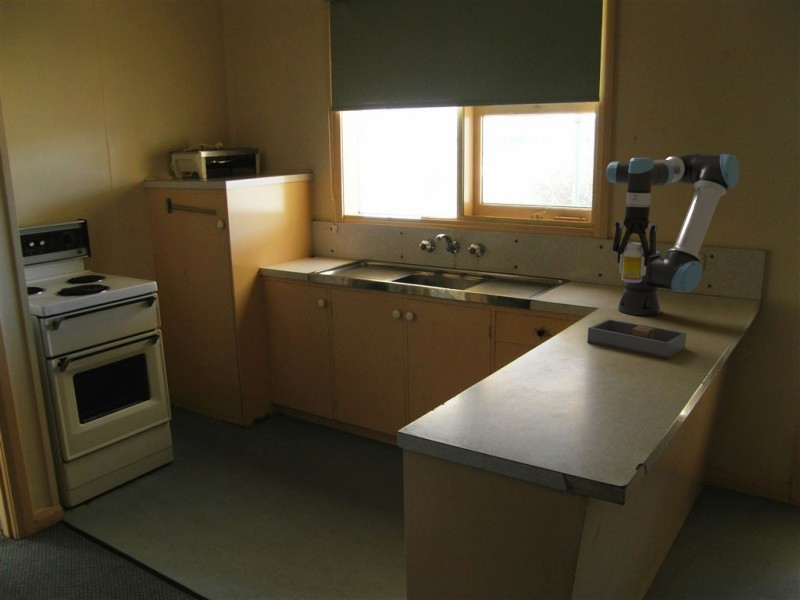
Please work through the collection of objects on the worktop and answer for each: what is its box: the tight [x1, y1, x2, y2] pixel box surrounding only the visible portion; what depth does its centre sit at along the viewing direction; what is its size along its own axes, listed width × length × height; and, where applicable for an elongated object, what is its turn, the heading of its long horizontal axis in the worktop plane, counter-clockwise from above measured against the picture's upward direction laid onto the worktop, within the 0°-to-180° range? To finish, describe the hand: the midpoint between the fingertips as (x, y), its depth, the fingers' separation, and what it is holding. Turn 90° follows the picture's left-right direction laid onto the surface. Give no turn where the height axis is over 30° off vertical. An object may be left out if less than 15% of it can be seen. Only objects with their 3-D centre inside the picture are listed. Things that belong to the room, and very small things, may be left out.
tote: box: [586, 318, 687, 360], centre depth 223 cm, size 15×26×5 cm, turn 49°
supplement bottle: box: [621, 242, 644, 283], centre depth 235 cm, size 7×7×13 cm
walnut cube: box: [632, 326, 654, 339], centre depth 222 cm, size 5×5×5 cm
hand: (632, 273), depth 236 cm, fingers closed on supplement bottle, 7 cm apart
